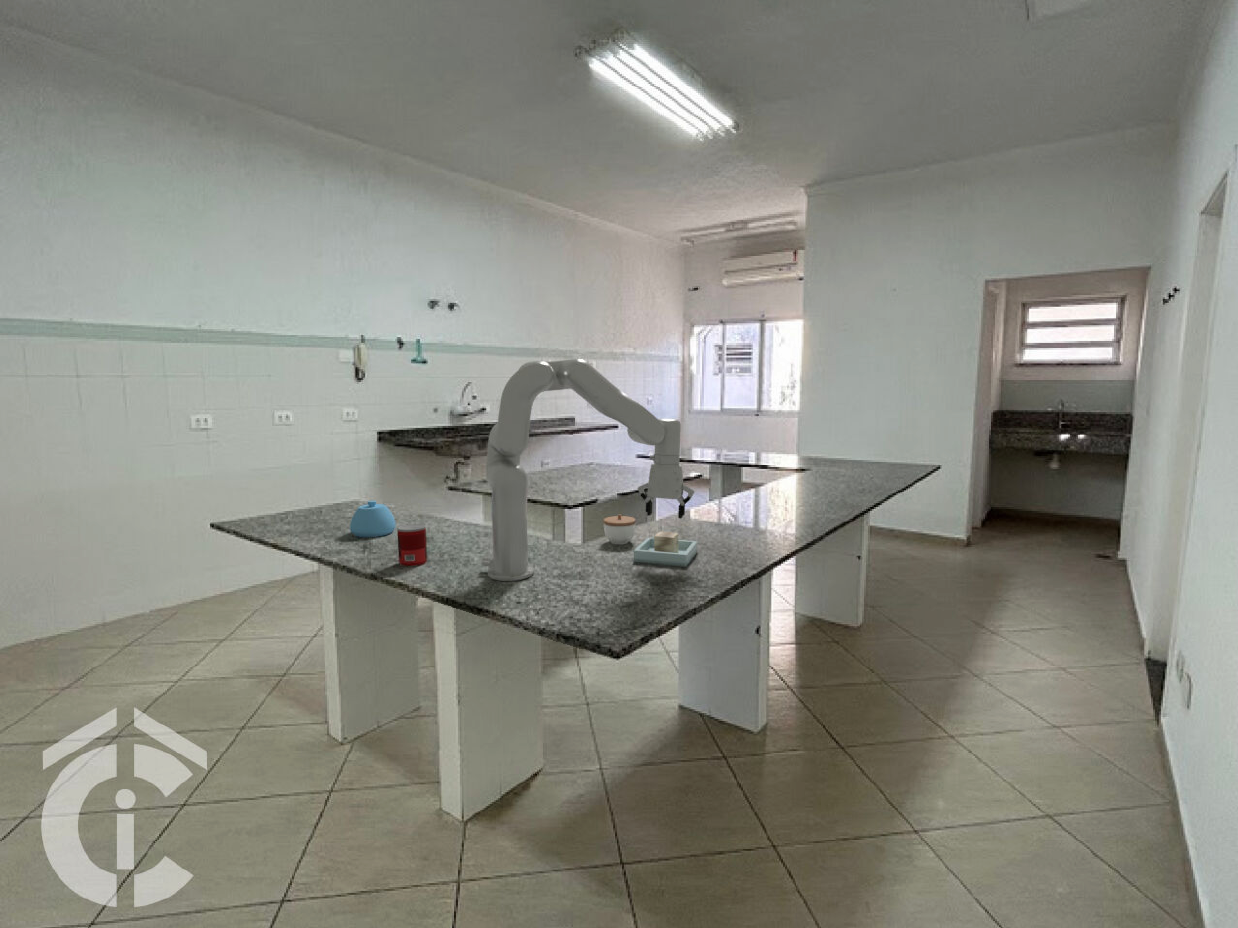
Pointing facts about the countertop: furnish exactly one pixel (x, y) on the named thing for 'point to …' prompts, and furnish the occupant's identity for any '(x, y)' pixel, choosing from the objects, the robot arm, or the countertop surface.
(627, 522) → the lidded jar
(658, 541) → the birch block
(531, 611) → the countertop surface
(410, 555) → the canned food
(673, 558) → the teal tray
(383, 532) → the sugar bowl
